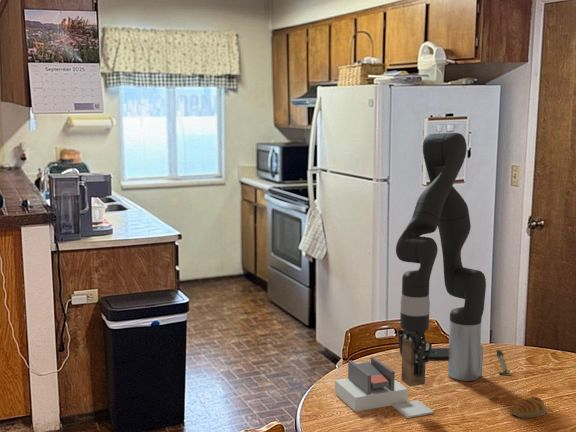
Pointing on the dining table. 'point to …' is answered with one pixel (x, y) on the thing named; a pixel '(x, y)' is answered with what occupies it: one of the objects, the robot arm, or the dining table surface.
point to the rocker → (374, 375)
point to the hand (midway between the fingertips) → (413, 372)
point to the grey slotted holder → (369, 388)
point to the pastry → (529, 407)
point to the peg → (410, 365)
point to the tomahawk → (502, 364)
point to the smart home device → (438, 354)
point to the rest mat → (412, 409)
